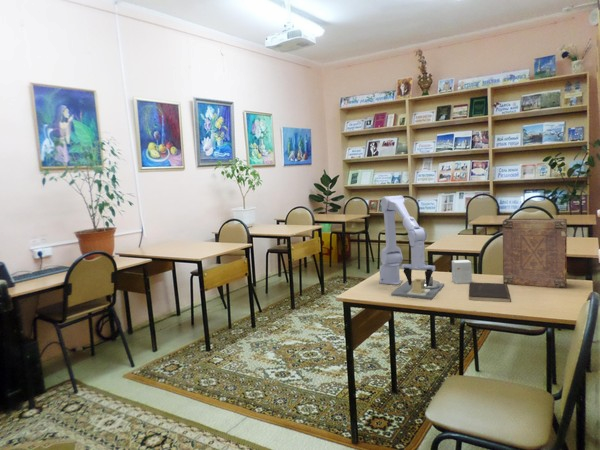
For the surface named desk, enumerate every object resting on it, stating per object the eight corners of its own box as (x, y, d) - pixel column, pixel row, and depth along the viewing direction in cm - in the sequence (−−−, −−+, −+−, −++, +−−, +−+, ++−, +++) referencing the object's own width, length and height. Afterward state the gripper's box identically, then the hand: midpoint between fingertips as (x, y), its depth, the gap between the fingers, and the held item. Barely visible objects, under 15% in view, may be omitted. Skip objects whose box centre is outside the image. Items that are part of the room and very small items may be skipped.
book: (566, 283, 194) (567, 218, 191) (566, 288, 186) (567, 221, 183) (505, 279, 208) (505, 218, 204) (502, 283, 200) (502, 220, 197)
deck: (391, 295, 192) (391, 293, 192) (407, 282, 212) (407, 280, 212) (431, 299, 182) (431, 297, 182) (444, 285, 203) (444, 283, 203)
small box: (468, 280, 210) (468, 259, 209) (472, 283, 204) (471, 261, 203) (451, 281, 210) (451, 260, 209) (455, 283, 205) (454, 262, 204)
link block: (412, 292, 189) (412, 281, 188) (416, 289, 194) (415, 278, 193) (421, 293, 187) (421, 282, 186) (425, 290, 192) (424, 278, 191)
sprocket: (418, 290, 193) (417, 279, 192) (407, 283, 206) (406, 272, 205) (445, 287, 195) (444, 276, 194) (432, 280, 207) (432, 270, 207)
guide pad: (407, 294, 189) (407, 293, 189) (412, 289, 196) (412, 287, 196) (425, 295, 185) (425, 294, 185) (430, 290, 192) (430, 289, 192)
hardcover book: (468, 301, 179) (468, 296, 179) (469, 287, 200) (469, 282, 200) (511, 303, 173) (511, 298, 172) (507, 288, 194) (507, 283, 193)
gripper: (399, 256, 189) (400, 286, 191) (432, 258, 182) (432, 289, 183) (404, 253, 195) (404, 282, 197) (436, 255, 187) (436, 285, 189)
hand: (418, 285), depth 190 cm, fingers open, 7 cm apart
